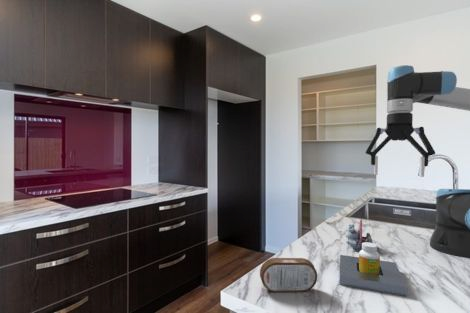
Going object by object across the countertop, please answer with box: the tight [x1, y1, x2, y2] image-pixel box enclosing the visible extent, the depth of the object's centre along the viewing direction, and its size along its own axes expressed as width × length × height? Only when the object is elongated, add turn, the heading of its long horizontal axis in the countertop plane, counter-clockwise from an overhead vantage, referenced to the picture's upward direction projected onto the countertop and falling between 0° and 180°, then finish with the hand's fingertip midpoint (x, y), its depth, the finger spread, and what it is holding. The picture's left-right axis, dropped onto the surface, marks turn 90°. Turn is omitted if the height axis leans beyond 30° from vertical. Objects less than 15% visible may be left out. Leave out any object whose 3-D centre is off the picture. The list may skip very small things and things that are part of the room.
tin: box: [259, 257, 318, 293], centre depth 71 cm, size 15×3×8 cm, turn 92°
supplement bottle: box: [358, 242, 381, 275], centre depth 79 cm, size 5×5×10 cm
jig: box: [339, 254, 408, 297], centre depth 79 cm, size 16×16×2 cm
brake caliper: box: [344, 218, 374, 252], centre depth 103 cm, size 11×11×12 cm
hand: (398, 175), depth 92 cm, fingers open, 13 cm apart
